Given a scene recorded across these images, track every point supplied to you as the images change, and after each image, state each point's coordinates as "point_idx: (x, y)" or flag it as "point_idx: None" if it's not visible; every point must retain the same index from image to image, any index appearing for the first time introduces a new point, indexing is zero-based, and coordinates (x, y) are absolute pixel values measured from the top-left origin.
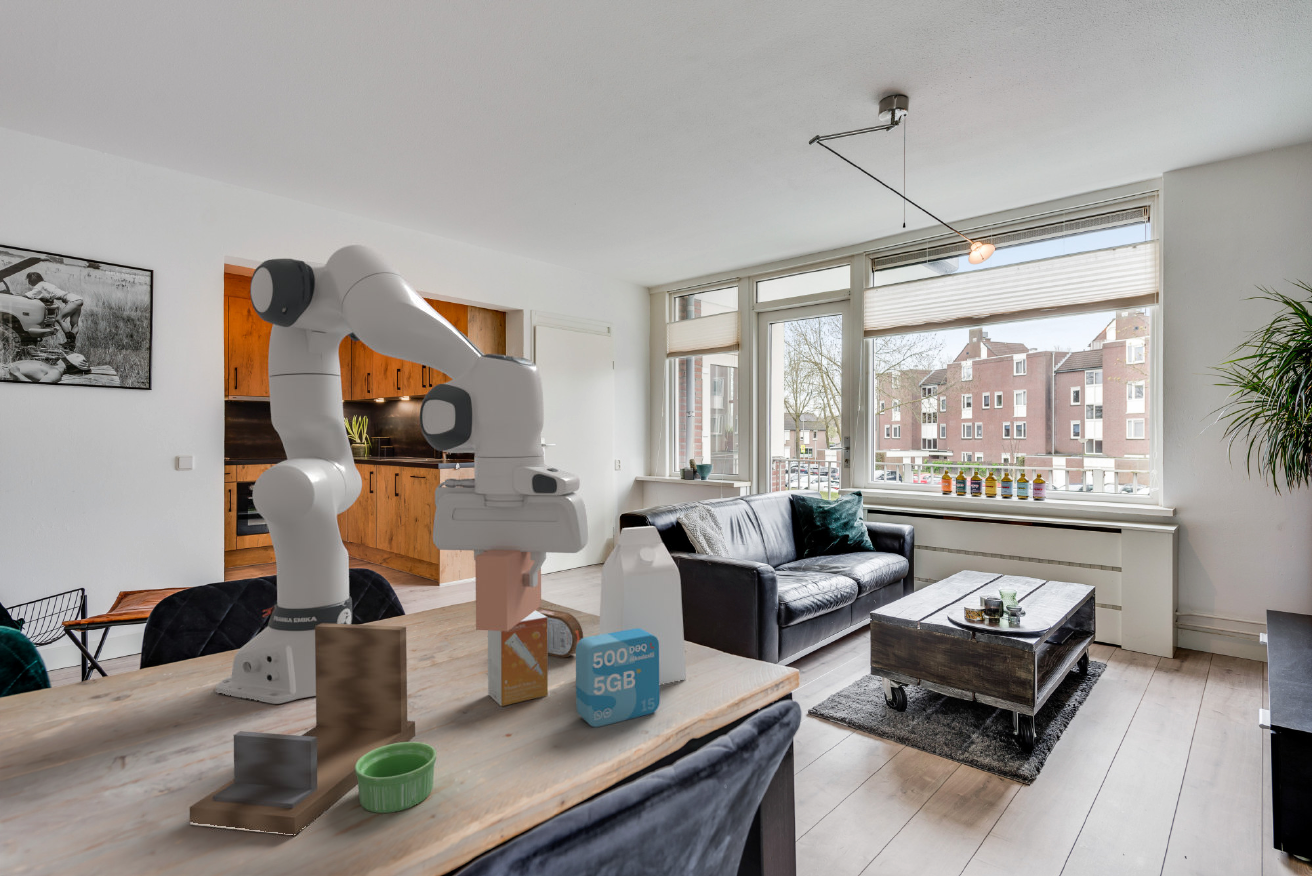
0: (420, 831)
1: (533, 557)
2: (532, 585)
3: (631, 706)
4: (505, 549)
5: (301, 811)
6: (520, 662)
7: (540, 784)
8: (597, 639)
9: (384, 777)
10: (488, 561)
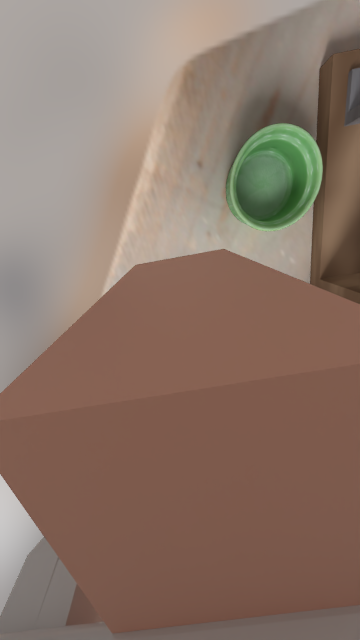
0: (195, 132)
1: (59, 577)
2: None
3: None
4: (238, 628)
5: (333, 70)
6: None
7: (132, 256)
8: None
9: (263, 130)
10: (227, 345)
